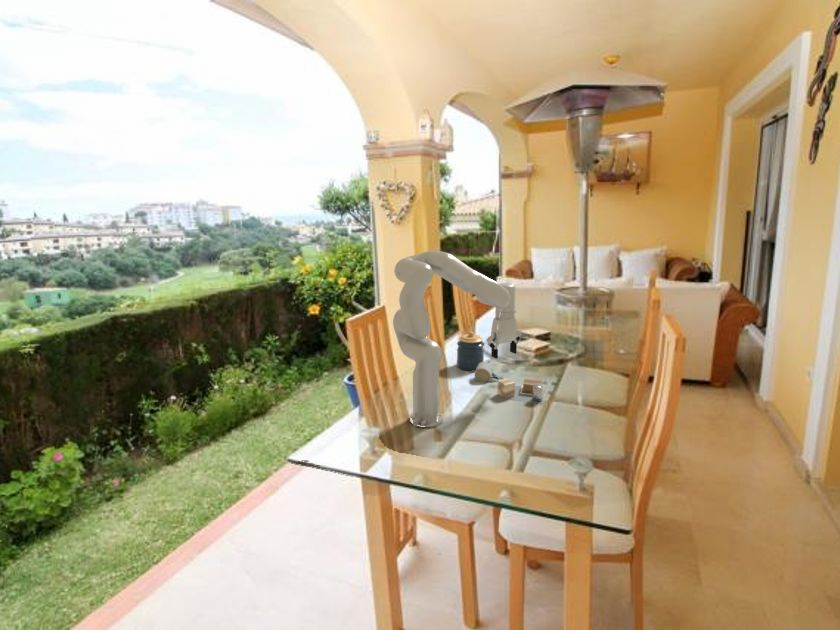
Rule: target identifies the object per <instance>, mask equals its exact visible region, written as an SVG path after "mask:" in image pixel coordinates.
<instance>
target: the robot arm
mask: <svg viewBox="0 0 840 630" xmlns="http://www.w3.org/2000/svg"><path fill="white" fill-rule="evenodd" d="M394 275H395V277H396V279H397V280H398V281H400V282H402V283H404V284H403V287H402V288H401V291H400V293H399V298H398V301H399V307H400V308H399V309H398V310H396V312H395V314H394V315H393V319H392V325H393V330H394V332H395V335H396V339H397V342H398V346H399V349H400V351H401V352H402V354H403V355H404V356H405V357H406V358H408V359H409V360H413V362H415V365H414V366H415V367H414V368H413V371H412V413H410V414H409V416H410V418H412V420H413V425H412V426H414V427H417V425H420V426H425V427H430V428H434V427H437V426H440V425H441V424H442V423H443V420H444V419H443V415H442V414H441V413H440V412H439V410H440V409H439V406H440V405H439V404H440V402H439V400H440V399H439V397H440V396H439V395H440V394H439V391H440V389H439V387H440V386H439V385H440V382H439V381H440V379H439V376H440V367H441V366H440V365H441V361H442V354H443V353H442V349H441V346H440V344H438V343H437V342H436V341H434V340H432V339H430V338H429V337H428V336H429V335H430V334H431V330H432V327H431V322H430V318H429V313H428V311H427V306H426V303H425V293H426V291H427V288H428V287H429V286H430V284H431V282H432V280H433V278H434V277H433V275H435V276H439V277H441V278H442V279H444V280H445V281H446V282H448V283H451V284H452V285H454V287H456V288H458V289H459V290H461V291H464V292H466V293H468V294H471V295H475V298H476V300H477V301H478V302H479V303H481V304H483V305H487V306H490V307H494V309H495V312H494V313H495V315H494V316H495V317H493V320H492V323H491V333H490V335H489V336H488V337H486V339H485V340H486V342H487V343H486V344H487V345H488V347H490V348H491V358H494V359H498V358H499V349H498V347H499V345H501V344H506V343H509V351H510V353H512V354H517V345H518V343H519V341H520V339H521V336H522V331H520V330H518V327H517V319H516V317H515V315H516V313H517V310H516V309H515V307H516V286H515V284H514V283H510V282H500V283H498V282H497V281H495V280H493V279H491V278H489V277H488V276H486V275H484V274H482V273H480V272H478V271H477V270H475V269H473V268H472V267H470V266H468V265H467V264H466V263H464V262H462V260H460V259H458V258H457V257H455V256H454V255H453V254H451V253H450V252H446V251H439V250H434V249H433V250H432V249H431V250H427V251H423V252H421V253H417V254H414V255H409V256H406V257H404V258H401V259H400V260H398V261H397V262H396V264H395V266H394Z"/></svg>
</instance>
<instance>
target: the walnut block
mask: <svg viewBox="0 0 840 630" xmlns="http://www.w3.org/2000/svg"><path fill="white" fill-rule="evenodd" d="M542 380H543V379H541V378H530V377H524V380H523V383H522V384H523V393H529V394H532V392H533V385H535V384H540V385H542Z"/></svg>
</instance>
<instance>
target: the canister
mask: <svg viewBox="0 0 840 630" xmlns="http://www.w3.org/2000/svg"><path fill="white" fill-rule="evenodd" d="M483 340H484V338H483V337H482V336H480V335H478V334H475V333H474V332H473V331H469V332H468V333H466V334H463V335H462V336H460V337H459V338H458V341H457V343H456V344H457V349H456V351H457V353H456V354H457V355H456V356H457V358H456V359H457V360H456V365H457V368H458V369H460V370H463V371H466V372H467V371H468V372H473V371H472V370H476V368H477V366H478V364H479V363H481V362H485V361H484V356H485V355H484V354H485V353H484V352H485V349H484V346H485V342H484V341H483Z"/></svg>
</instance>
